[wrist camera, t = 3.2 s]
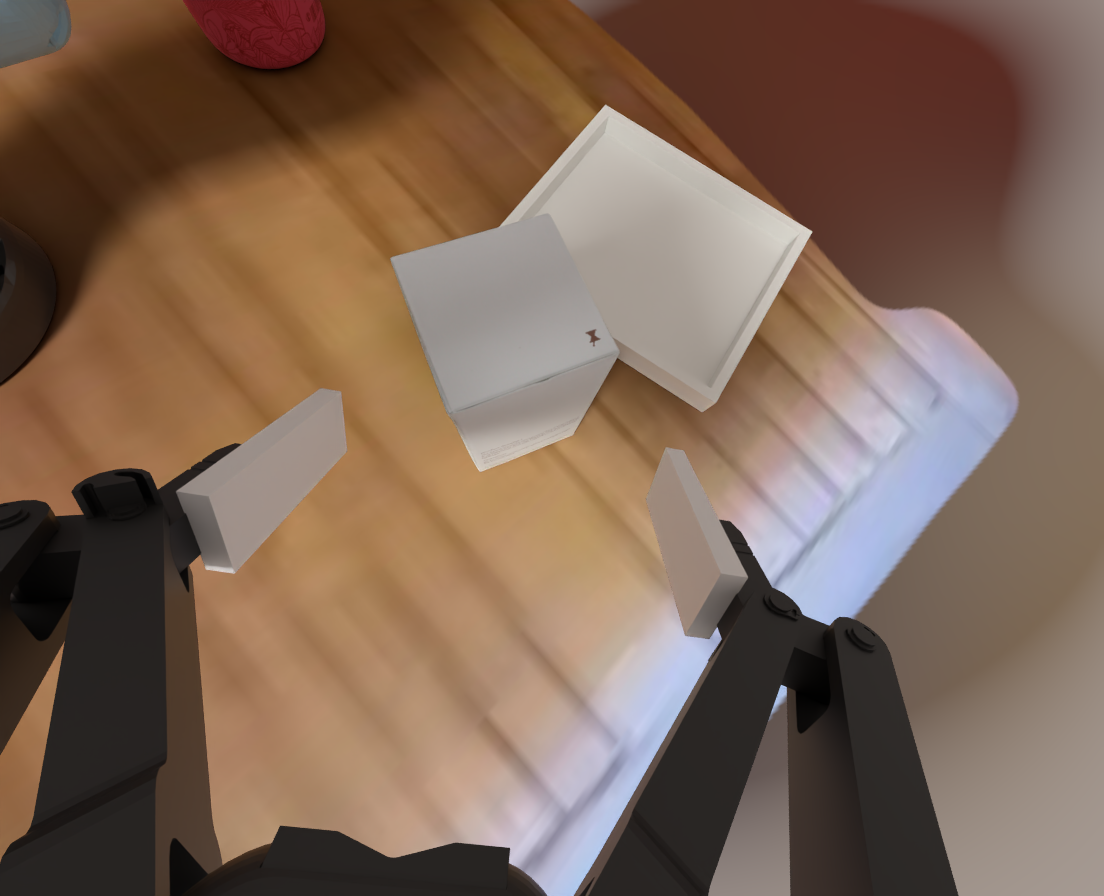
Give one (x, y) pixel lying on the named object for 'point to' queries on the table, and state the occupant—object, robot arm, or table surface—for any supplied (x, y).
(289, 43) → the wine bottle
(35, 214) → the table surface
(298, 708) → the table surface
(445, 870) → the robot arm
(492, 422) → the supplement box
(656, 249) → the white tray
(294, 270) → the table surface
